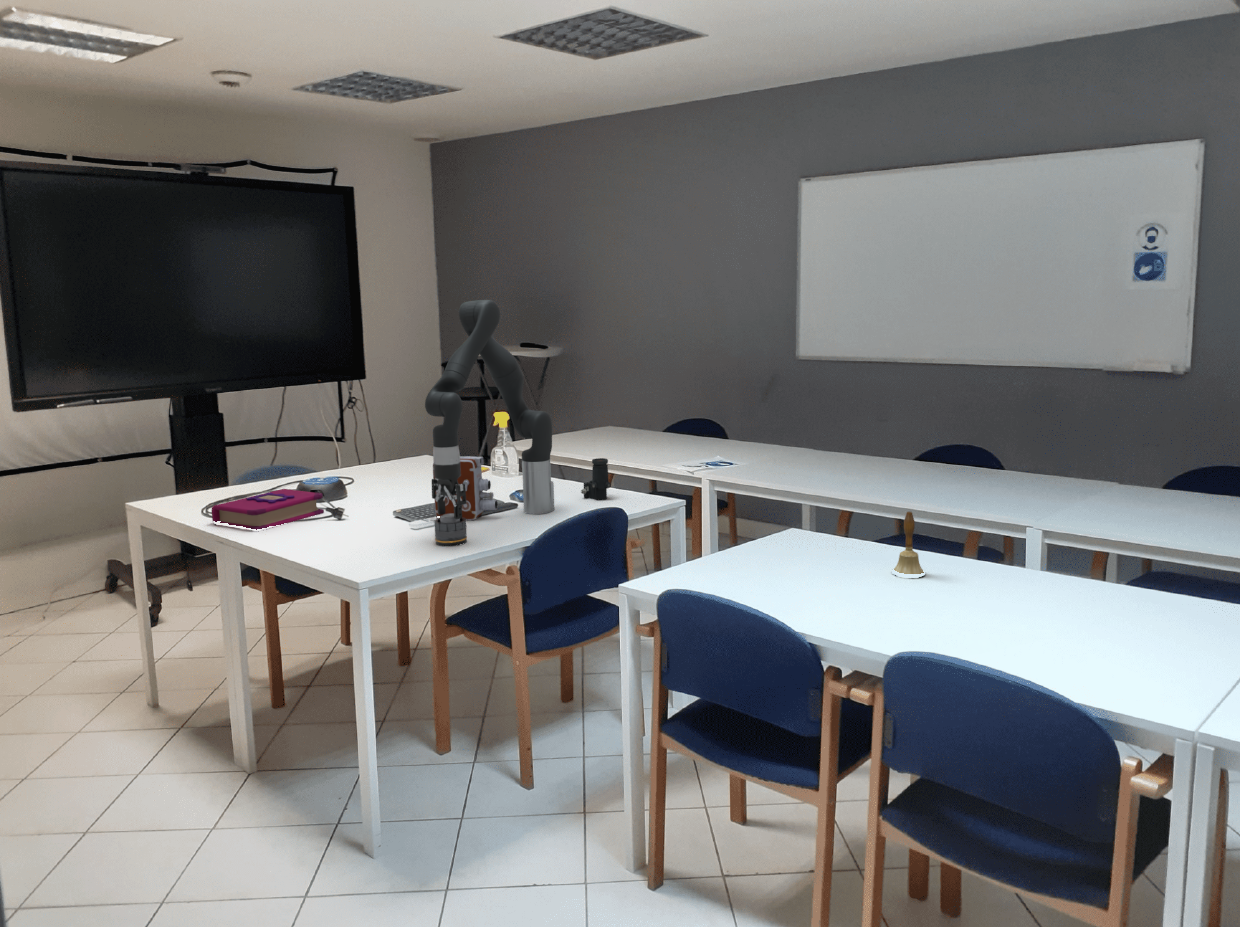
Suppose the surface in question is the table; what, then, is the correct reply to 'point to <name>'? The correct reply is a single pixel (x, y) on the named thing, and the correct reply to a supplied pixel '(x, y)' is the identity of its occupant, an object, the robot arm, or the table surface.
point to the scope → (597, 481)
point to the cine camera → (471, 490)
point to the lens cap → (448, 518)
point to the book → (268, 509)
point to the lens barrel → (450, 533)
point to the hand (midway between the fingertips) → (449, 516)
